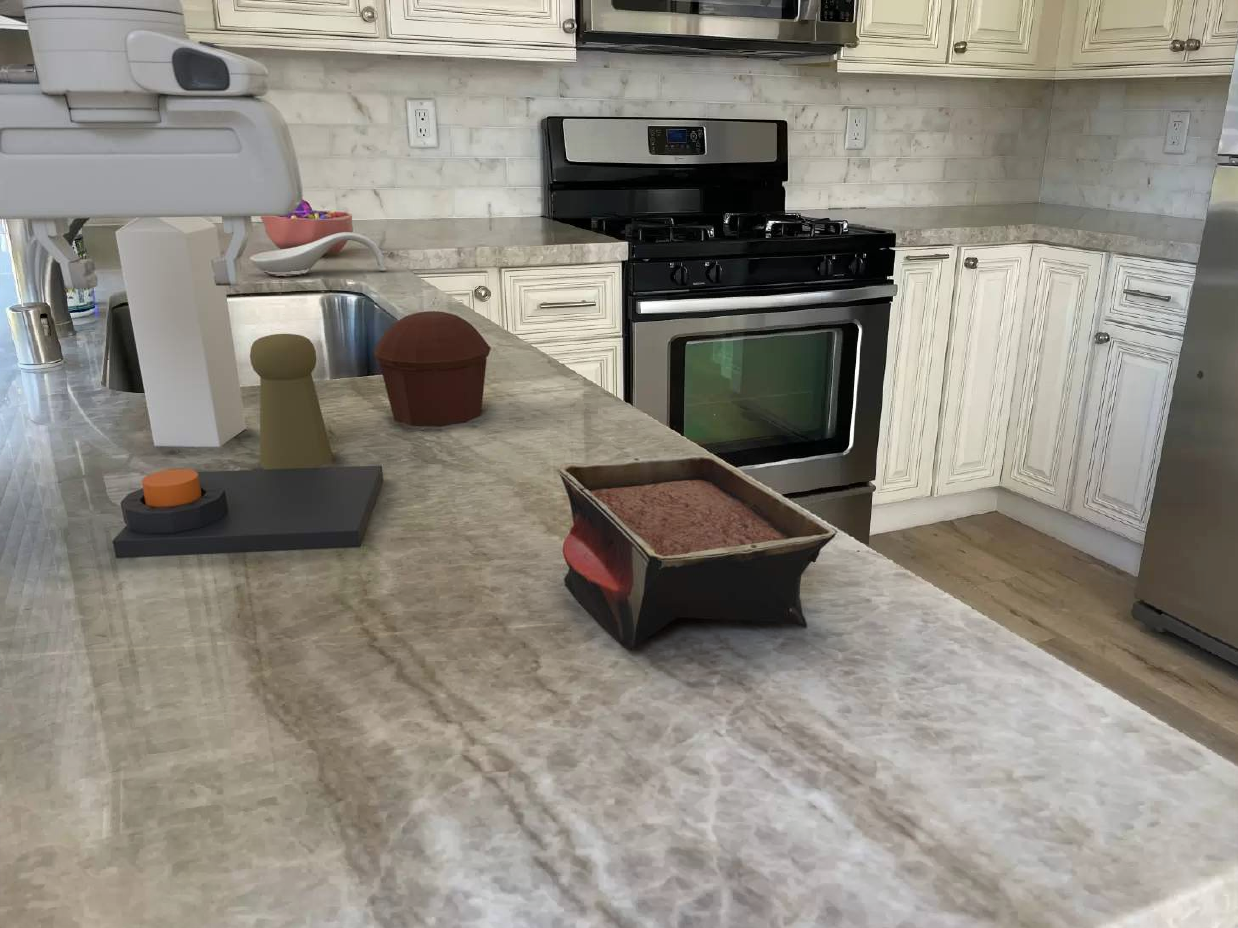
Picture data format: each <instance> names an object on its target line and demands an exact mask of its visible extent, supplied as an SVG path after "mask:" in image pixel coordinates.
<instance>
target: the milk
mask: <svg viewBox="0 0 1238 928" xmlns="http://www.w3.org/2000/svg"><path fill="white" fill-rule="evenodd" d="M115 237H116V244H117V249H118V254H119V259H120V265H121V271H122V276H123V281H124V287H125V293H126V298H127V304H128V308H129V315H130V320H131V325H132V330H133V336H134V342H135V347H136V353H137V358H138V364H139V369H140V374H141V379H142V384H143V390H144V395H145V396H144V397H145V403H146V407H147V413H148V418H149V423H150V428H151V434H152V441H153V444H154V447H188V448H189V447H191V448H192V447H194V448H221V447H222V446H223V445H225V444H226V443H227V442H229V441H230V440H232V439H233V438H235V437H236V436H238V435H239V434H241V433H242V432H243V431H245V430H246V429H247V426H246V419H245V411H244V404H243V397H242V390H241V384H240V378H239V371H238V364H237V358H236V351H235V344H234V338H233V330H232V323H231V315H230V310H229V303H228V297H227V289H226V286H216V284H215V281H214V276H215V272H214V271H213V270H212V263H211V260H213V259H215V258H217V257H222V256H221V249H220V243H219V236H218V229H217V226H216V225H215V224H214V223H212V222H210V221H209V220H207V219H205V217H140V218H134V219H132V220H131V221H129V222H127V224H125V225H123V226H122V227H121V228H119V229H117V230H116V231H115Z"/></svg>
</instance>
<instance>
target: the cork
mask: <svg viewBox="0 0 1238 928" xmlns="http://www.w3.org/2000/svg"><path fill="white" fill-rule="evenodd" d="M249 359H250V365H251V366H252V369H253V371H254V372H255V373H256V374H257V375H258V377H259V379H260V380H259V382H260V383H259V388H260V389H259V397H260V398H259V424H260V425H259V466H260V467H261V468H262V469H292V468H321V467H324V466H325V465H328V464H329V463H331V462H332V461H333V459H334V456H333V452H332V449H331V445H330V440H329V437H328V432H327V429H326V425H325V421H324V416H323V414H322V413H323V412H322V410H321V405H320V401H319V397H318V393H317V390H316V386H315V383H314V382H315V381H314V378H313V375H312V374H313V371H314V370H315V368H316V366H317V351H316V348H315V345H314V343H313V342H312V340H310V338H308V337H306V336H304V335H302V334H296V333H275V334H268V335H265V336H262V337H259V338H257V339H256V340H254V341H253V343H252V344H251V347H250V352H249Z"/></svg>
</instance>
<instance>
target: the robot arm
mask: <svg viewBox="0 0 1238 928" xmlns="http://www.w3.org/2000/svg"><path fill="white" fill-rule="evenodd" d="M0 17H3V18H6V19H10V20H13V21H16V22H19V23H22V24H26V27H27V31H28V37H29V40H30V41H29V42H30V45H31V46H30V47H31V51H32V56H33V60H34V63H9V64H3V65H2V64H1V65H0V220H30V221H31V225H32V229H33V230H32V231H33V234H34V238H35V239H36V240H37V241H38V243H40V245H41V246H42V247H43V248H44V249H45V250H46V251H47V253H48V254H49V255H50V256H51V257H52V258H53V260H55V262H56V263H57V264H59V265H60V270H61V275H62V279H63V283H64V287H65V288H66V289H67V290H89V289H91V290H92V289H93V288H96V287H98V283H99V282H98V281H99V280H98V276H97V274H96V273H95V271H96V266H95V261H94V258H93V259H92V258H85V259H84V258H81V257H80V256H79V254H78V253H77V252H76V251H75V249H74V248H73V247H72V246H71V245H70V242H68V240H67V239H66V238H65V237H64V236H63V235H65V234H69V233H70V231H71V230H70V223H69V219H129V218H130V219H131V218H134V219H136V218H140V217H202V218H208V217H211V218H213V217H215V218H216V217H221V221H222V222H221V223H222V229H223V233H225V234H226V235H232V234H233V235H232V238H231V240H230V242H229V245H228V248H227V250H226V252H225V254H224V256H221V257H217V258H215V259H213V260H211V263H212V270H213V271H214V272H215V276H214V281H215V284H216V286H225V287H234V286H235V287H236V286H237V287H238V286H240V285H242V284H243V283H244V275H243V267H242V261H241V257H242V256H243V254H244V252H245V250H246V247H247V246H248V244H249V241H250V239H251V236H252V235H253V232H254V227H253V226H254V225H253V220H252V217H260V216H284V215H288V214H291V213H292V212H294V211H295V210H296V209H297V207H298V206H299V205H300V203H301V201H302V199H303V197H304V191H303V183H302V177H301V172H300V168H299V163H298V159H297V154H296V150H295V146H294V144H293V140H292V136H291V132H290V129H289V126H288V124H287V122H286V120H285V117H284V115H283V114H282V112H281V111H280V110H279V109H278V107H277V106H276V105H274V104H273V103H271V102H270V101H268V100H267V99H264V98H261V97H263V96H266V95H267V94H268V93H269V92H270V88H271V81H270V74H269V70H268V69H267V67H266V66H265V65H264V64H263V63H261V62H259V61H258V60H255V59H253V58H250V57H246V56H243V55H241V54H237V53H235V52H232V51H229V50H228V51H227V50H224V49H222V47H221V46H220V45H217V44H214V43H211V42H207V41H202V40H200V41H195V40H193V39H191V38H190V35H189V34H188V29H187V25H186V18H185V11H184V8H183V5H182V2H181V0H0Z"/></svg>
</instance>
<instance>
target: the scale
mask: <svg viewBox="0 0 1238 928" xmlns="http://www.w3.org/2000/svg"><path fill="white" fill-rule="evenodd" d="M196 472H197V473H198V476H199V482H200V488H201V494H202V498H199V499H197V500H195V501H192V502H190V503H186V504H181V505H176V506H161V507H155V506H149V505H146V502H145V497H144V491H143V487H142V488H140V489H136V490H135V491H132V492H129V493H128V494H126V496H125V497H124V498H123V499H122V500H121V501H120V508H121V512H122V519H123V523H124V524H125V526H124V527H123V528H122V529H121V531H119V533H118V534H117V535H116V536H115V537H114V538H113V539H112V540H111V541H112V546H113V551H114V555H115V559H125V558H126V559H129V558H130V559H131V558H150V557H173V556H196V555H197V556H198V555H218V554H241V553H261V552H265V553H266V552H284V551H307V550H330V549H349V548H351V549H353V548H360V547H361V545H362V542H363V539H364V537H365V534H366V531H367V528H368V525H369V522H370V520H371V517H372V513H373V511H374V509H375V505H376V503H377V499H378V497H379V494H380V491H381V489H382V485H383V482H384V473H383V466H382V465H355V466H351V465H350V466H327V467H326V466H325V467H324V466H321V467H318V468H292V469H264V468H262V469H237V470H211V471H209V470H207V471H205V470H204V471H196Z"/></svg>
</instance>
